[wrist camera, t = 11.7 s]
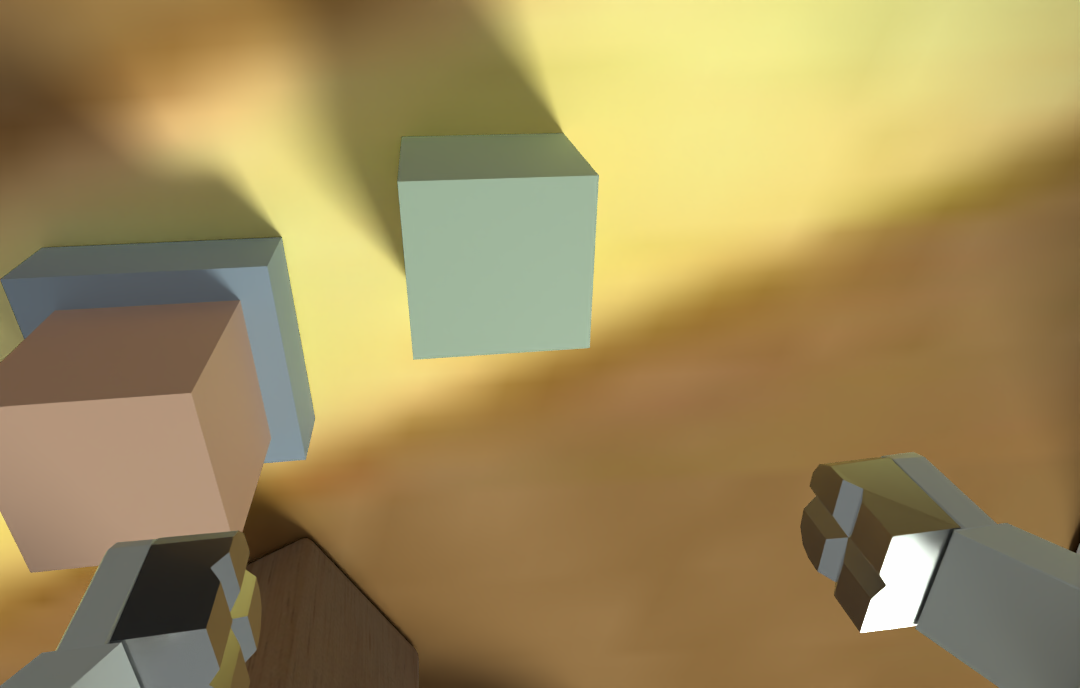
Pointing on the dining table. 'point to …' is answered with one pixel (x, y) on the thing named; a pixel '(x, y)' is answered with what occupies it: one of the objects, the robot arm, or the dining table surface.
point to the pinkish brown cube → (128, 429)
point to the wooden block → (322, 628)
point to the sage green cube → (497, 243)
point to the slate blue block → (187, 278)
